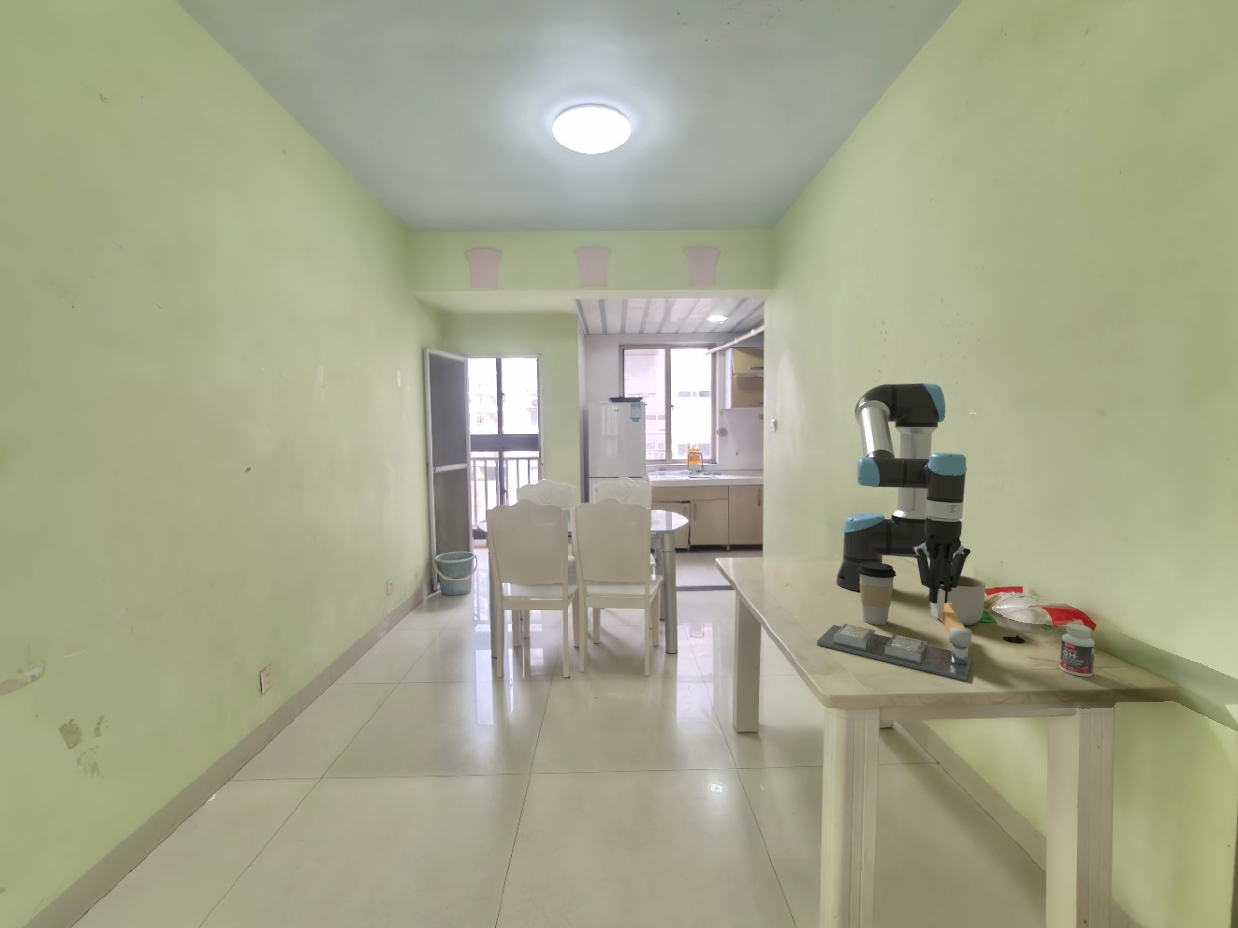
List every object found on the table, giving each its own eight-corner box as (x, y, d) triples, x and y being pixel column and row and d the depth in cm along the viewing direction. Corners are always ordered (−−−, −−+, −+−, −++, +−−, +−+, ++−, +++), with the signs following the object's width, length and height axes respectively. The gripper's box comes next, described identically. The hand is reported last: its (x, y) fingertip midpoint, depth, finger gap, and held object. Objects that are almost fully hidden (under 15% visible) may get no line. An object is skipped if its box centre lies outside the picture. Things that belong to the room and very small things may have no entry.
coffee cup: (898, 628, 140) (901, 571, 139) (859, 625, 142) (861, 569, 141) (888, 616, 149) (890, 561, 148) (851, 613, 151) (853, 560, 150)
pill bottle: (1059, 672, 115) (1062, 627, 115) (1060, 663, 119) (1062, 620, 119) (1093, 680, 112) (1096, 633, 111) (1092, 671, 116) (1095, 626, 115)
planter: (954, 630, 139) (956, 588, 138) (918, 613, 151) (919, 575, 150) (995, 627, 141) (997, 585, 140) (956, 610, 153) (958, 572, 153)
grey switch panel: (833, 628, 140) (833, 610, 139) (972, 659, 121) (973, 639, 121) (817, 644, 129) (817, 625, 129) (966, 681, 111) (967, 658, 111)
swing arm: (973, 648, 115) (973, 634, 115) (951, 645, 117) (952, 631, 117) (950, 614, 136) (951, 602, 136) (932, 612, 138) (933, 600, 137)
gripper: (926, 521, 125) (919, 621, 126) (981, 521, 125) (973, 621, 127) (907, 515, 132) (901, 610, 134) (959, 516, 133) (953, 610, 134)
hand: (936, 615), depth 130 cm, fingers closed
